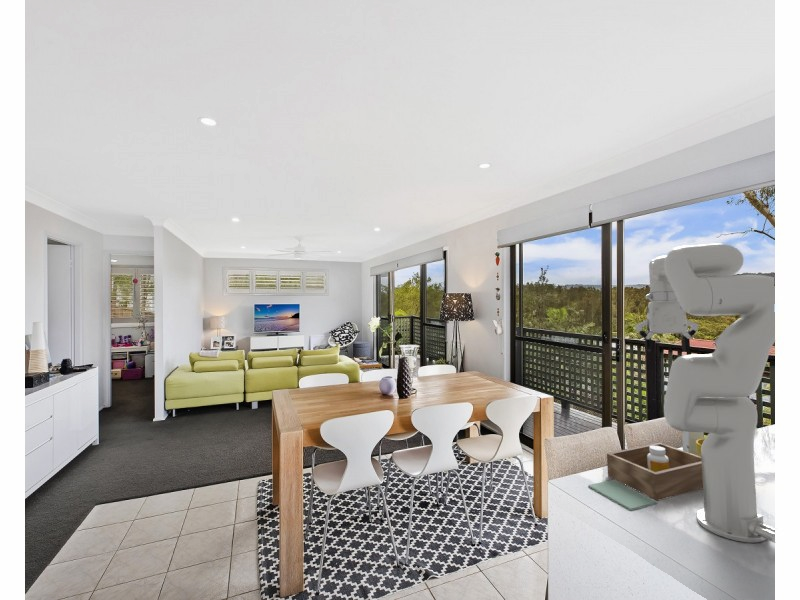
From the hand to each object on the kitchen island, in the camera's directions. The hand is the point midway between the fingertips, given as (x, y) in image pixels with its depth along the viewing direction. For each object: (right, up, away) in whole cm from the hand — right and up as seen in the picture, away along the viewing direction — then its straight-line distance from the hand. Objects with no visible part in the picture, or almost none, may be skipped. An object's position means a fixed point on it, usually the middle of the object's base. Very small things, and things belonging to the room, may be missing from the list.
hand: (667, 351), depth 122 cm
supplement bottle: (-8, -38, -8) cm, 39 cm away
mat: (-23, -38, -15) cm, 47 cm away
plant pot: (+11, -37, -7) cm, 39 cm away
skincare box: (+11, -37, +4) cm, 39 cm away
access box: (-8, -37, -8) cm, 39 cm away
